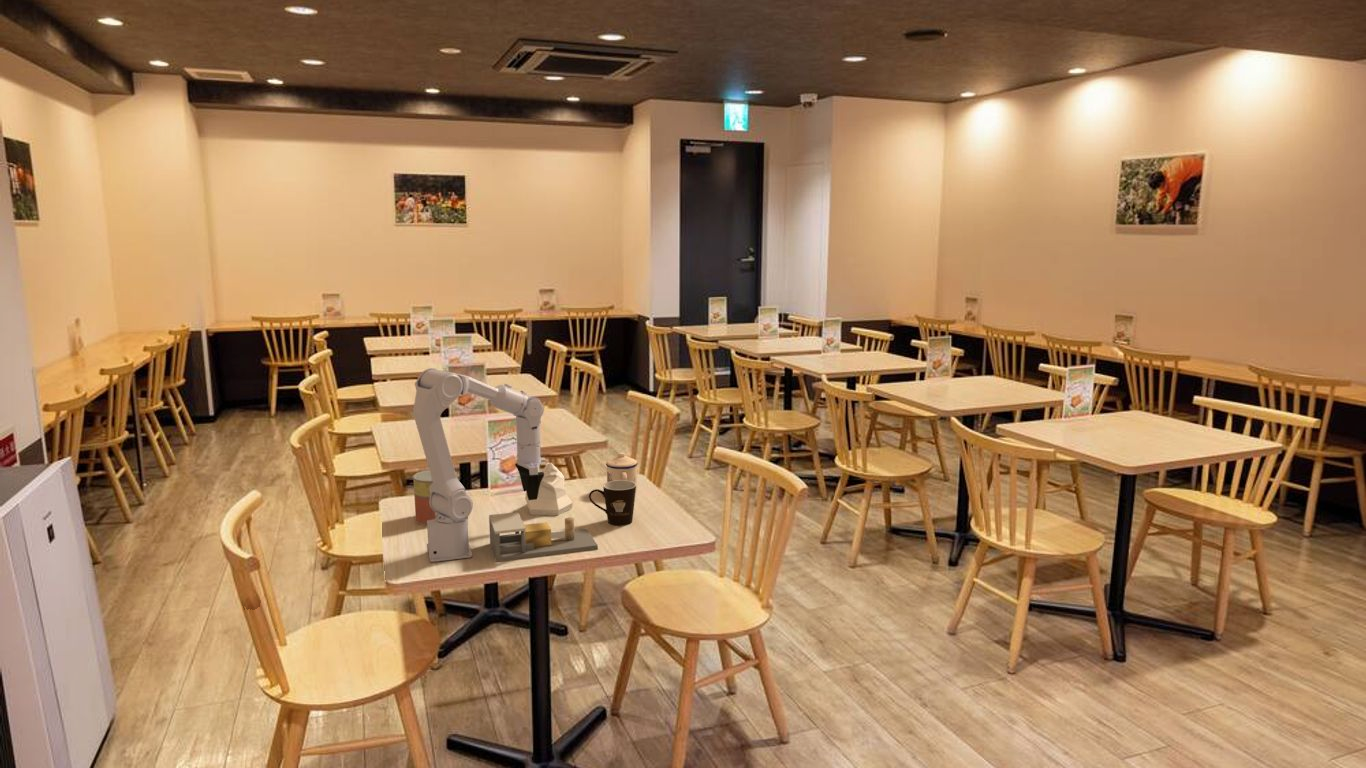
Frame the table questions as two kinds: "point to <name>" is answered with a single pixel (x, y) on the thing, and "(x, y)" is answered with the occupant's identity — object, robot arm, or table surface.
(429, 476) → the canned food
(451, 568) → the table surface
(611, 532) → the table surface
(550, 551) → the plate
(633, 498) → the coffee mug
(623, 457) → the teacup with lid
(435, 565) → the table surface
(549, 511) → the cream faceted rock
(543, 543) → the yellow block
